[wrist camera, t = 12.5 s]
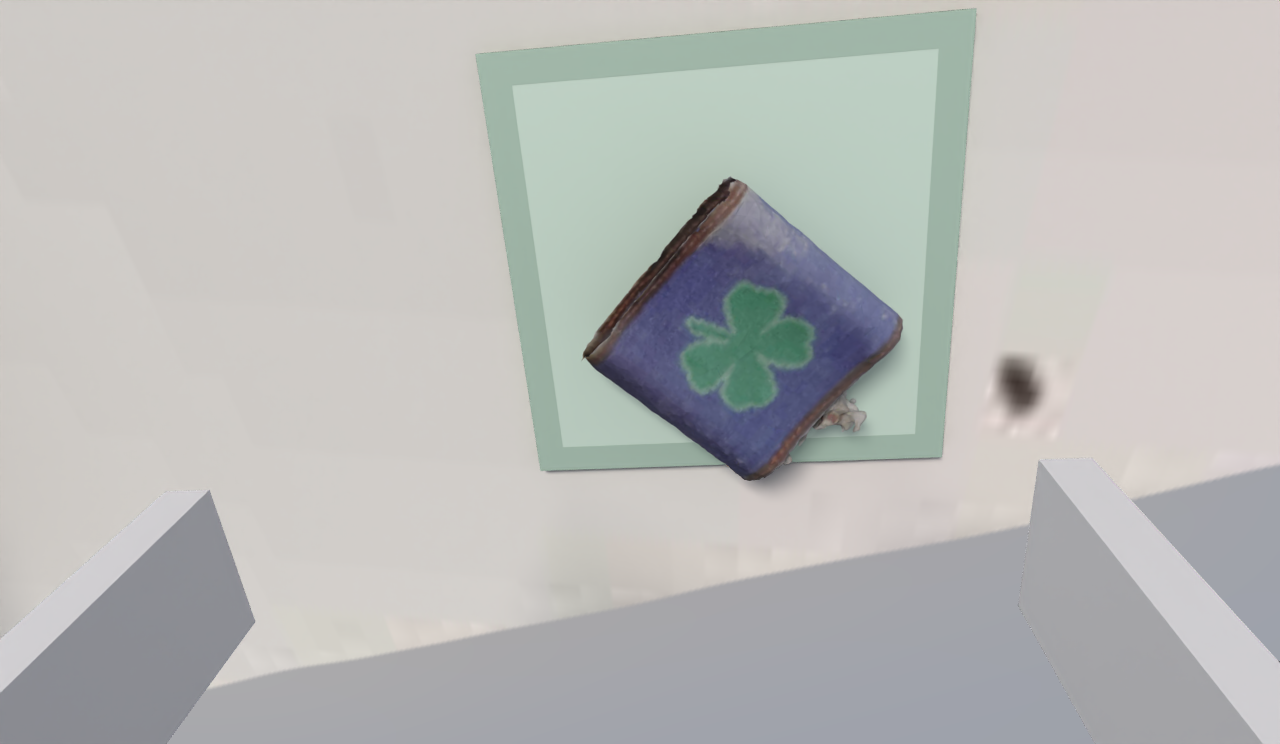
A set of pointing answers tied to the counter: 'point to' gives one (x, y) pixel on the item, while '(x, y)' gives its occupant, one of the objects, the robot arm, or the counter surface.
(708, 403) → the blue clover box
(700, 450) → the mat
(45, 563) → the counter surface
